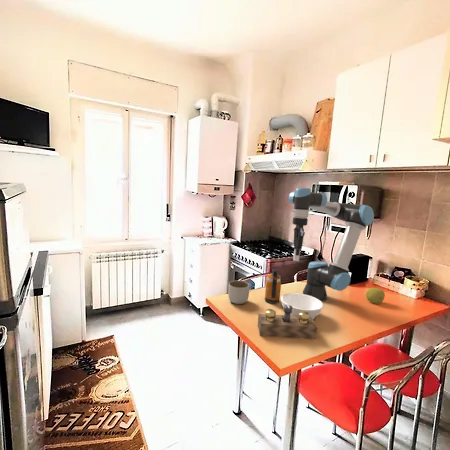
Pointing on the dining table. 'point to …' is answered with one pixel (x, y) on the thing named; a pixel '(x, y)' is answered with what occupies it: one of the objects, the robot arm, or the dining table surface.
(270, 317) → the knob
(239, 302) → the planter
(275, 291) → the canister
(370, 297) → the fruit
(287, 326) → the mount
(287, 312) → the pot knob
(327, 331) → the dining table surface
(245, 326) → the dining table surface
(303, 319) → the knob
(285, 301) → the bowl
